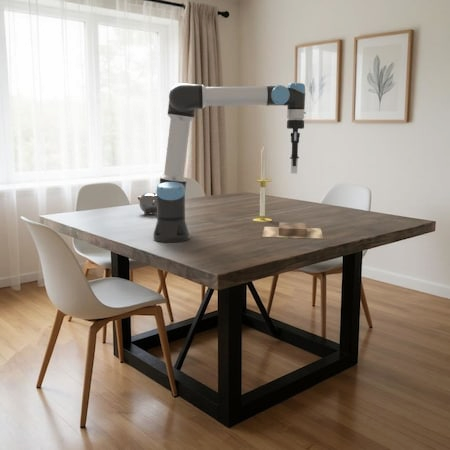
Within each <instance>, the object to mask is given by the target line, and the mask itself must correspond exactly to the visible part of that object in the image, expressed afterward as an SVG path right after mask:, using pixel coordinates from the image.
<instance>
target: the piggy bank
mask: <svg viewBox="0 0 450 450" xmlns="http://www.w3.org/2000/svg"><path fill="white" fill-rule="evenodd" d="M137 200H138V204H139V207H140V210H141V211H142V212H143V215H144V216H148V215H149V214H152V216H155V217H156V216H157V193H156V192H155V193H154V192H147V193H144V194H142V195H141V196H137Z"/></svg>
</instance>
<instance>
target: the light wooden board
mask: <svg viewBox="0 0 450 450" xmlns="http://www.w3.org/2000/svg"><path fill="white" fill-rule="evenodd" d="M261 236H262V237H261V238H272V239H273V238H274V239H276V238H290V239H297V240H299V239H300V240H301V239H302V240H305V239H306V240H309V239H324V235H323V231H322V229H321V227H307V236H288V235H279V226H264V227H263V231H262V235H261Z"/></svg>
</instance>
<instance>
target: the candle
mask: <svg viewBox="0 0 450 450" xmlns="http://www.w3.org/2000/svg"><path fill="white" fill-rule="evenodd" d="M260 152H261V153H260V179H259V178H258V179H254V180H253V181H254V182H259V183H260V187H259V188H260V189H259V190H260V193H259V194H260V195H259V217H257V218H256V217H255V218H252V221H253V222H254V221H255V222H265V223H267V222H271V221H273V219H271V218H265V217H266V216H265V215H266V183H269V182H272V179H266V155H267V153H266V152H267V151H266V149H265V146H264V145H263V147H262V149H261V151H260Z"/></svg>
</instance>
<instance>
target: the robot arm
mask: <svg viewBox="0 0 450 450" xmlns="http://www.w3.org/2000/svg"><path fill="white" fill-rule="evenodd" d="M305 85H306V84H304V83H303V82H292V83H291V82H290V83H288V85H287V87H286V86H284V85H280V84H278V85H267V86H266V85H262V86H261V85H257V86H255V85H253V86H249V85H248V86H247V85H246V86H245V85H244V86H204V84H195V83H193V84H192V83H186V82H180V83H177V84H175V85H174V86H173V87H172V88H170V90H169V91H170V92H169V94H168V107H167V115H168V118H169V119H170V121H169V129H168V137H167V138H168V139H167V147H166V155H165V164H164V171H163V174H162V175H161V176H160V177H159V184H158V185H157V186H156V190H155V194H157V214H156V216H157V221H156V225H155V228H154V230H153V231H154V232H153V234H152V235H153V241H156V242H162V243H181V242H184V241H188V240H189V239H190V232H189V228H188V224H187V222H186V187H187V179H186V177H185V168H186V159H187V150H188V142H189V136H190V135H189V134H190V127H191V121H193V120H194V119H195V114H196V110H200V109H201V110H202V109H205V108H206V107H224V106H226V107H230V106H266V107H267V106H268V107H269V106H286V107H287V111H286V119H287V121H286V129H287V130H289V129H291V130H292V132H290V142H291V154H290V155H291V156H290V157H289V159H290V161H291V162H290V174H298V160H299V158H300V157H299V155H298V153H299V152H298V149H299V143H300V136H301V133H300V132H299V130H300V129H301V130H302V129H304V128H305V120H304V119H305V115H306V114H307V112H306V111H305V106H306V104H305V103H306V86H305Z"/></svg>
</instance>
